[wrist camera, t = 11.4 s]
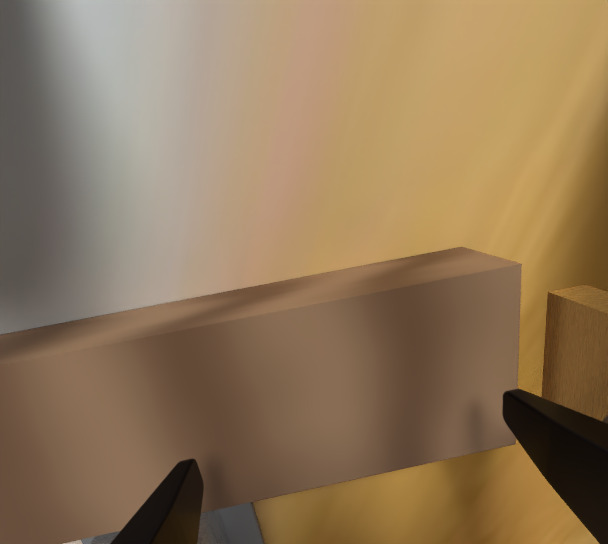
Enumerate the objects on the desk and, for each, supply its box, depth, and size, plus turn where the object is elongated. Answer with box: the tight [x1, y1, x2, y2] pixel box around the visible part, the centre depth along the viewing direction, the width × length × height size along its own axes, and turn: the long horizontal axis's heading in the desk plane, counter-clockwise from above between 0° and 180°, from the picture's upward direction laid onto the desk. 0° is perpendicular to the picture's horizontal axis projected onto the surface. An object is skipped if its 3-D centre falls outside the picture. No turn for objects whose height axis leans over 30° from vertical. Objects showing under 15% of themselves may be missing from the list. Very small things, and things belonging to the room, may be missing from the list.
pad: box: [81, 502, 264, 544], centre depth 14 cm, size 8×8×1 cm
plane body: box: [0, 247, 522, 544], centre depth 11 cm, size 20×7×3 cm, turn 100°
